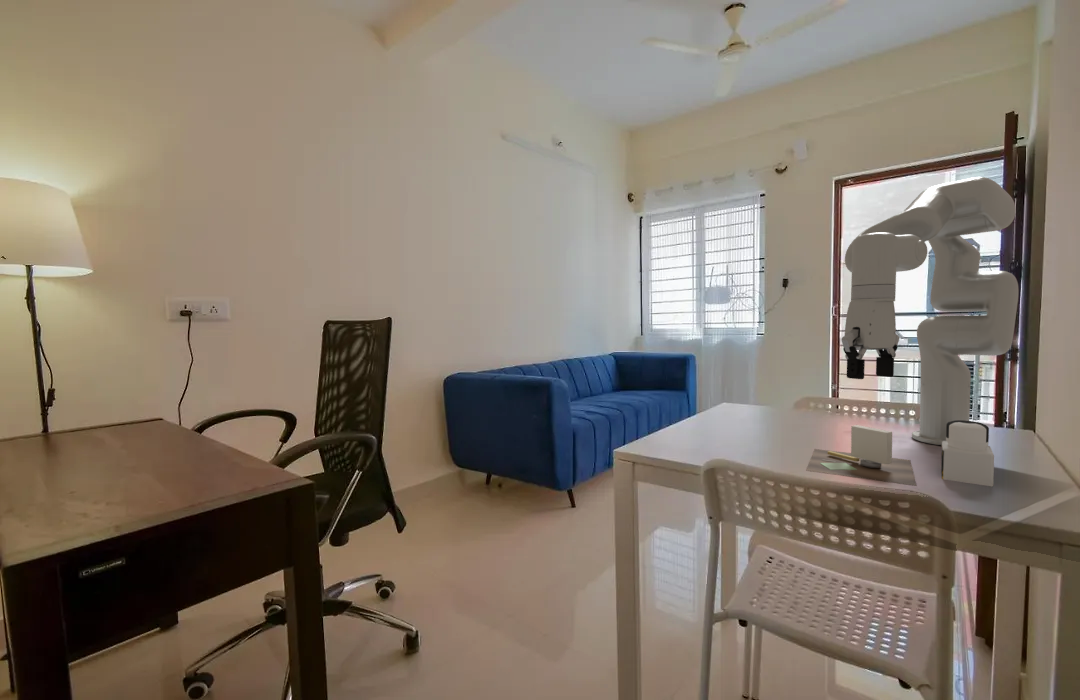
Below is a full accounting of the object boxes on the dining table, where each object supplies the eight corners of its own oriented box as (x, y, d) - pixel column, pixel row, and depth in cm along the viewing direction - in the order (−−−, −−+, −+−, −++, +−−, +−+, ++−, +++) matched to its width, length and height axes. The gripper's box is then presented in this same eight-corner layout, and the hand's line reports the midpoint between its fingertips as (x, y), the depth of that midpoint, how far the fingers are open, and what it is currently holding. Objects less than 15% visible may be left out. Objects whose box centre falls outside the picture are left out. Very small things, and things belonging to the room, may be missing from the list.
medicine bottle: (940, 474, 96) (942, 416, 95) (989, 481, 91) (991, 420, 91) (941, 485, 90) (943, 423, 90) (993, 493, 86) (995, 428, 85)
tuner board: (814, 453, 112) (814, 448, 112) (910, 465, 102) (910, 459, 102) (805, 475, 98) (805, 469, 98) (916, 492, 87) (916, 485, 87)
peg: (883, 472, 95) (884, 433, 94) (823, 456, 106) (823, 421, 106) (894, 469, 96) (894, 431, 96) (833, 454, 108) (834, 419, 107)
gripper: (879, 296, 104) (876, 373, 105) (827, 295, 97) (825, 377, 98) (917, 294, 97) (914, 377, 98) (865, 292, 90) (862, 381, 91)
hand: (870, 377), depth 98 cm, fingers open, 9 cm apart
